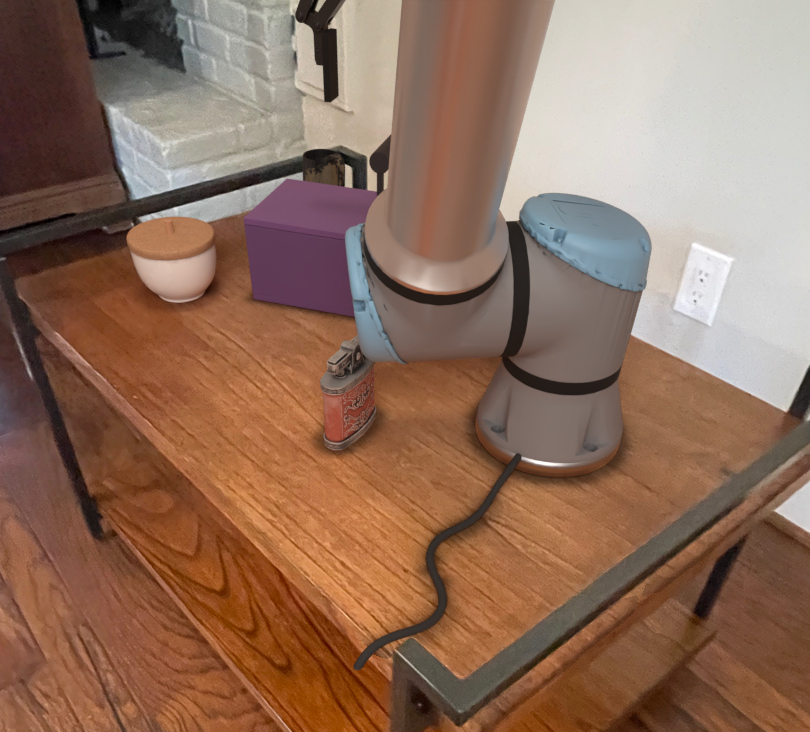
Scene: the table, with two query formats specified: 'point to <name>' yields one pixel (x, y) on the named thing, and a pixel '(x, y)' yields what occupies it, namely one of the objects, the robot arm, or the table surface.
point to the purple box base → (299, 270)
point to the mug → (324, 167)
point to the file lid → (320, 203)
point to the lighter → (347, 396)
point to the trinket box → (174, 256)
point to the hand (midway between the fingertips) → (388, 106)
